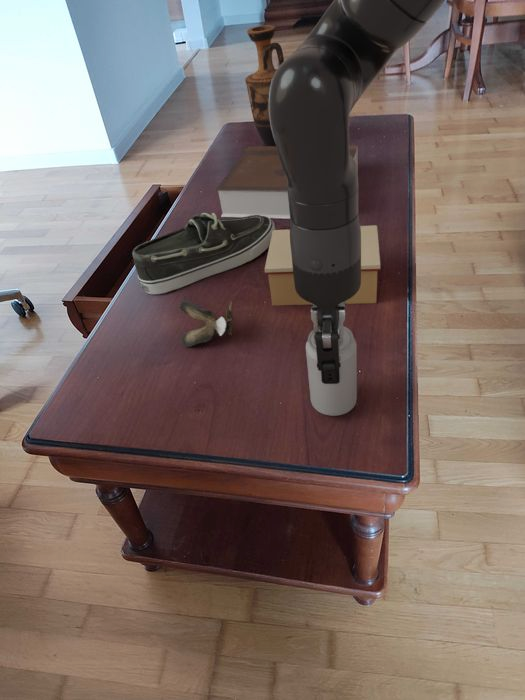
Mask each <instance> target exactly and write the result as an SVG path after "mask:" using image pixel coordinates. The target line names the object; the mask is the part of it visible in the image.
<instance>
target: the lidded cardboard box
mask: <svg viewBox="0 0 525 700" xmlns="http://www.w3.org/2000/svg"><path fill="white" fill-rule="evenodd" d="M360 228H361V286H360V288H359V290H358V292H357V293H356V294H355V295H354V296H353V297H351V298H350V299H348V300H346V305H355V304H356V305H359V304H361V305H363V304H377V298H378V297H377V296H378V295H377V293H378V272H380V271H381V270H382V269H381V256H380V255H381V254H380V245H379V243H380V242H379V231H378V225H377V224H376V225H375V224H374V225H360ZM264 275H268V284H269V290H270V297H271V305H272V306H313V304H312V303H310V302H308V301H306V300H304V299H302V298H301V297H300V296H299V295H298V294H297V292H296V290H295V285H294V275H293V265H292V255H291V246H290V228H289V229H276V230H273V232H272V236H271V241H270V246H269V247H268V251H267V256H266V260H265V265H264Z"/></svg>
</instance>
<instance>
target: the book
mask: <svg viewBox="0 0 525 700" xmlns="http://www.w3.org/2000/svg"><path fill="white" fill-rule="evenodd" d="M359 149H360V147H359V144H351V145H350V144H349V152H350V155H351V156H352V157H353V159H354V161H355V163H356V166H357V171H358V172H359ZM215 191H217V192H218V196H219V203H220V209H221V216H220V217H221V218H241V217H247V216H251V215H260V216H266V217H269V218H270V219H287V220H288V219H289V220H290V211H289V201H288V191H287V177H286V175H285V172H284V170H283V167H282V164H281V161H280V158H279V155H278V151H277V148H276V146H265V145H263V146H262V145H261V146H247V147H246V148H245V149H244V151H243V153H242V154H241V155H240V157H239V158H238V160H236V162H235V163H234V164H233V166H232V167H231V168H230V169H229V171H228V172H227V174H226V175H225V176H224V178H223V179H222V180H221V182H220V183H219V185H218V186H217V187H216V188H215Z"/></svg>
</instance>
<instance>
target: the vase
mask: <svg viewBox="0 0 525 700" xmlns="http://www.w3.org/2000/svg"><path fill="white" fill-rule="evenodd" d="M275 32H276V26H275V25H271V24H265V25H264V24H263V25H257V26H253V27H250V28H249V29H247V31H246V33H247V35H248V38H249V39H250V41H251V42H253V43H254V45H255V48H256V52H257V62H258V66H257V70H256V71H255V72H253V73H251V74H249V75H248V76H246V77H245V81H244V82H245V85H246V90H247V94H248V100H249V105H250V109H251V115H252V118H253V119H252V120H253V122H254V125H255V129H256V131H257V133H258V134H259V137H260V138H261V140H262V142H263V144H264V146H276V145H275V141H274V138H273V134H272V130H271V125H270V118H269V90H270V85H271V81H272V79H273V76H274V74H275V72H276V70H277V69H278V67H279V66H280V65H281V64H282V63H283V62H284V61H285V58H284V52H283V48H282V46H281V45H280V43H279V42H272V39H273V37H274V35H275ZM274 50H275V51H276V56H277V61H278V62H277V68H275V66H274V63H273V51H274Z"/></svg>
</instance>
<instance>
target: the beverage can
mask: <svg viewBox="0 0 525 700" xmlns="http://www.w3.org/2000/svg"><path fill="white" fill-rule="evenodd" d="M343 329H344V341H343V344H342V345H341V346H340V357H341V361H340V363H341V367H339V372H340V382H339V383H338V384H324V383H322V377H321V371H318V368H317V363H318V362H317V351H316V345H315V343H314V329H312V330H311V332H309V334H308V336H307V341H306V343H305V354H306V365H307V377H308V386H309V396H310V397H309V399H310V403H311V405H312V408H314V410H316V411H317V412H318V413H320V414H322V415H324V416H325V415H326V416H331V417H336V416H342V415H346V414H347V413H349V412H350V411H351V410H353V409H354V407H355V406H356V403H357V400H358V376H357V375H358V371H357V370H358V367H357V366H358V365H357V364H358V363H357V361H358V360H357V359H358V357H357V356H358V352H357V351H358V350H357V349H358V348H357V341H356V339H355V337H354V334H353V332H352V330H350V329H349V328H348V327H347V326H344V325H343ZM319 332H321V331H320V328H319ZM338 335H339V325H338Z"/></svg>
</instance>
